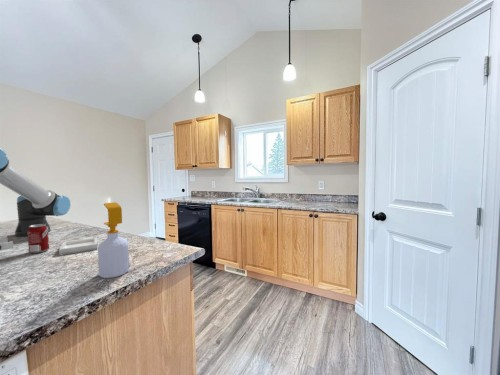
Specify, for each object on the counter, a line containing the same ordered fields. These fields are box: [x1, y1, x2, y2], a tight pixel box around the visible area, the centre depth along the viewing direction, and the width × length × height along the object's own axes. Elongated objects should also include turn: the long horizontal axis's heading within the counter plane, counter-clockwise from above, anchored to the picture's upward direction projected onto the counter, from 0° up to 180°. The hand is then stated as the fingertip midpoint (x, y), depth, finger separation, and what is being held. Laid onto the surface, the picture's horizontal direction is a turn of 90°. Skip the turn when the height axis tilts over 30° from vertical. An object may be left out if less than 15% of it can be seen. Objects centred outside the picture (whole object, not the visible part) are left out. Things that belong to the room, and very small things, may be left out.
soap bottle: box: [97, 201, 130, 279], centre depth 78 cm, size 9×9×25 cm
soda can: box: [27, 224, 50, 254], centre depth 101 cm, size 7×7×12 cm
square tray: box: [58, 236, 99, 256], centre depth 106 cm, size 13×13×2 cm
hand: (10, 241), depth 94 cm, fingers open, 13 cm apart
